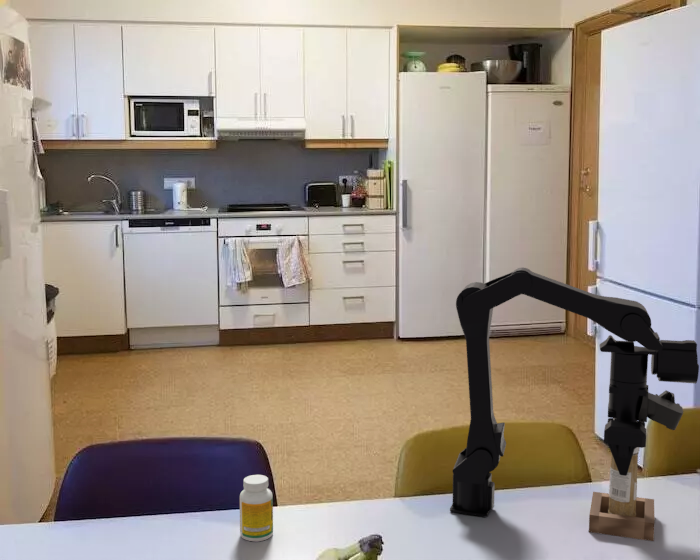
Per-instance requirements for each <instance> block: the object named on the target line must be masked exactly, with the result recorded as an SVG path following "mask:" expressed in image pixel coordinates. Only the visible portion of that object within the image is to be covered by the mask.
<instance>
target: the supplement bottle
mask: <svg viewBox="0 0 700 560" xmlns="http://www.w3.org/2000/svg"><path fill="white" fill-rule="evenodd" d="M242 484H243V486H242V487H243V490H242V491H241V492H240V494H239V534H240V537H241V538H242V539H244V540H245V541H249V542H255V543H256V542H263V541H265V540H268V539H269V538H271V537H272V536H273V534H274V511H273V510H274V507H273V505H274V503H273V501H274V499H273V492H272V490H271V489H270V488H268V487H269V484H270V483H269V477H267V476H266V475H263V474H252V475H251V474H250V475H248V476H245V477H244V478H243V483H242Z"/></svg>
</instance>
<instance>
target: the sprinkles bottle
mask: <svg viewBox="0 0 700 560" xmlns="http://www.w3.org/2000/svg"><path fill="white" fill-rule="evenodd" d="M640 449H641V448H640V447H637V448H635V449H634V452H633V456H632V459H631V463H630V466H629V470H628V473H627V475H626V476H624V475H620V474H619V471H618V469H617V466H616V463H615V461H614V458H613V456H612V453H611V452H610V453H611V454H610V467H609V486H608V488H609V489H608V491H609V492H608V494H609V509H608V514H616V515H623V516H631V517H636V498H637V497H638V496H637V495H638V464H639V463H638V461H639V452H640Z"/></svg>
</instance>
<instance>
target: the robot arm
mask: <svg viewBox="0 0 700 560" xmlns="http://www.w3.org/2000/svg"><path fill="white" fill-rule="evenodd" d="M520 295H525V296H527V297H530V298H533V299H535V300H538V301H541V302H544V303H545V304H549V305H552V306H554V307H557V308H559V309H562V310H565V311H568V312H571V313H573V314H576V315H579V316H581V317H583V318H587V319H589V320H591V321H593V322H594V323H596V324H597V325H599V326H600V327H602V328H603V329H605V330H606V331H608V332H609V333H612V334H613V335H615V336H617V338H621V339H622V340H616V339H615V337H613V336H612V335H611V334H610V335H608V336H607V338H606V339H605V340H603V341H602V342H600V343H599V351H600V352H602V353H610V368H609V370H610V372H609V385H608V405H607V423H605V426H604V432H603V443H604V444H606V445H608V448H609V451H610V453H612V456H613V458H614V461H615V463H616V466H617V469H618V471H619V474H620V475H624V476H626V475H627V473H628V470H629V466H630V463H631V459H632V456H633V452H634V449H635V448H637V447H640V449H641V448H642V449H643V448H646V447H647V428H646V423H647V422H648V419H649V420H651V421H653V422H656V423H657V424H660V425H663V426H664V427H666V429H668V430H672V431H676V429H677V427H678V425H679V423H680V421H681V419H682V417H683V414H684V409H683V406H682V405H681V404H680V403H676V399H675V397H676V396H675V393H673V392H671V391H669V390H664V391H663V392H662V393H660V394H657V393H655V394H653V393H651V392H649V385H648V383H647V381H648V368H649V367H648V365H649V363H648V362H649V355H651V359H650V371H651V375H654V376H655V375H656V378H657V379H658V382H667V383H683V384H697V382H698V380H699V370H700V365H699V363H698V362H699V360H698V352H697V351H698V344H697V342H696V340H693V339H691V340H689V339H687V340H668V339H667V340H666V339H665V340H664V339H661V338H660V335H659V334H658V332H655V330H654V329H653V328H652V320H651V317H650V315H649V312H648V311H647V309H646V307H645V306H644V305H643V304H642V303H641V302H639V301H636V300H630V299H625V298H621V297H620V298H619V297H614V296H604V295H600V294H594V293H593V292H589V291H586V290H583V289H581V288H579V287H575V286H572V285H569V284H567V283H564V282H561V281H559V280H556V279H553V278H550V277H547V276H545V275H543V274H539V273H536V272H533V271H532V270H530V269H529V268H526V267H517V268H516V269H514V270H513V271H511V272H509V273H507V274H504V275H502V276H499V277H496V278H494V279H492V280H489V281H487V282H485V283H484V282H479V281H478V282H477V281H475V282H471V283H469V284H467V285H466V286H465V287H464V288H463V289H462V290H461V291H460V292H459V294H458V295H457V298H456V300H455V301H456V302H455V306H456V307H455V308H456V311H457V316H458V321H459V324H460V327H461V330H462V332H463V335H464V338H465V344H466V345H465V347H466V361H467V376H468V377H467V378H468V380H467V381H468V396H469V411H470V420H469V421H470V422H469V427H468V435H467V439H466V447H465V448H464V449H463V450H461V451H460V452H459V454H458V457H457V459H456V460H455V461H456V462H455V463H454V466H453V469H452V504H451V506H450V508H449V512H451V513H455V514H464V515H468V516H469V515H470V516H477V517H484V518H485V517H488V515H489V513H490V511H491V510H493V507H494V506H495V488H496V487H495V482H494V481H492V478H493V475H492V472H493V471H494V470H495V469H496V468H497V467H498V466H499V464H500V460H501V457H504V455H505V450H506V446H507V442H506V439H505V436H504V433H505V422H499V423H498V422H497V419H496V417H495V413H494V400H493V398H494V397H493V385H492V384H493V382H492V381H493V380H492V367H491V366H492V365H491V349H490V331H491V327H492V326H491V325H492V320H493V319H492V318H493V314H494V313H493V312H494V308H495V307H498V306H500V305H503V304H505V303H506V302H509V301H510V300H512V299H514V298H516V297H519V296H520ZM636 342H637V343H639V345H641V346H637V345H635V343H636Z"/></svg>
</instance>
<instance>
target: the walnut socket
mask: <svg viewBox="0 0 700 560" xmlns="http://www.w3.org/2000/svg"><path fill="white" fill-rule="evenodd" d="M589 509H590V510H589V516H588V517H589V518H588V519H589V520H588V533H594V534H601V535H608V536H614V537H615V536H616V537H621V538H628V539H635V540H643V541H648V542H654V541H655V538H654V537H655V522H656V520H655V499H654V498H646V497H640V496H639V497H638V496H637V498H636V517H631V516H623V515H616V514H608V509H609V492H608V493H605V492H601V491H600V492H598V491H592V497H591V502H590V508H589Z"/></svg>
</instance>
